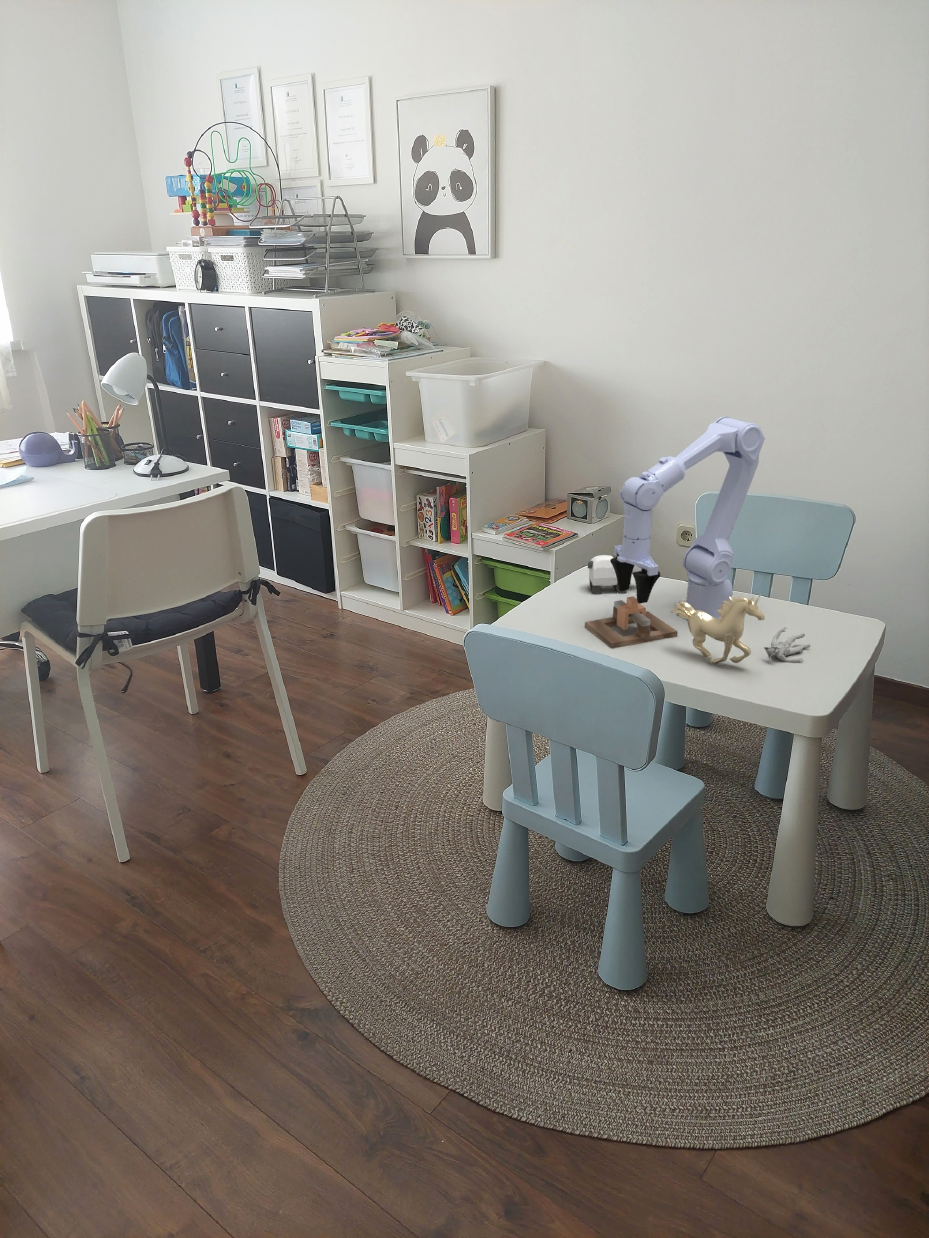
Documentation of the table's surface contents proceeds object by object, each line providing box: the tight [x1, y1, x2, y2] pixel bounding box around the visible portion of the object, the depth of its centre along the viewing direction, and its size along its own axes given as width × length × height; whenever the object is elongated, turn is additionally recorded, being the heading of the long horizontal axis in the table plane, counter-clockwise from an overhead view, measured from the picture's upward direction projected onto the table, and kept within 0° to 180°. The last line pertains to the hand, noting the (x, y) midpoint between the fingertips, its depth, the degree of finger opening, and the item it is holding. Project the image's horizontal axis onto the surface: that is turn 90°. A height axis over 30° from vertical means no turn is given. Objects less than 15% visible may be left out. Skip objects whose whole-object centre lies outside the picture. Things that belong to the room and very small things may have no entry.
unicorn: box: [670, 593, 766, 665], centre depth 177 cm, size 20×4×17 cm, turn 47°
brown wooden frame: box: [584, 599, 679, 649], centre depth 193 cm, size 16×12×5 cm
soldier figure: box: [763, 626, 811, 663], centre depth 182 cm, size 8×5×12 cm
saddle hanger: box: [617, 595, 647, 631], centre depth 192 cm, size 5×3×6 cm, turn 111°
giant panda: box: [587, 554, 641, 595], centre depth 215 cm, size 15×6×10 cm, turn 94°
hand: (633, 596), depth 191 cm, fingers open, 7 cm apart
